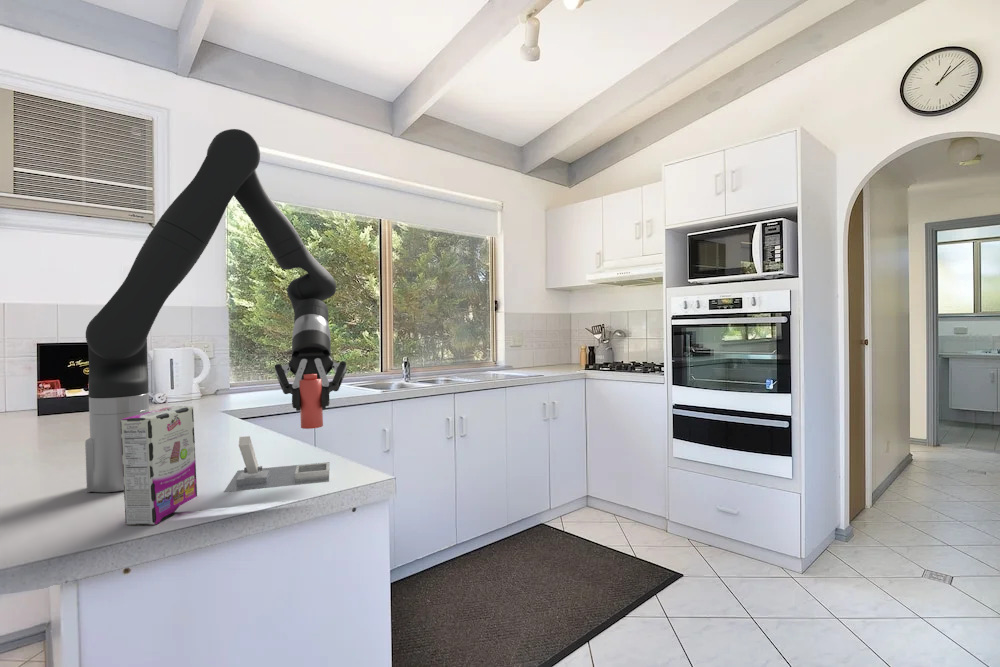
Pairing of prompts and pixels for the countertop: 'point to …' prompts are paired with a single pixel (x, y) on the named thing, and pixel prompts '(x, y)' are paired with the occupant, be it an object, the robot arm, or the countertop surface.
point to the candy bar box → (158, 463)
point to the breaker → (249, 455)
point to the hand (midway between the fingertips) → (311, 407)
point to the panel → (280, 477)
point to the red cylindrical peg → (311, 402)
